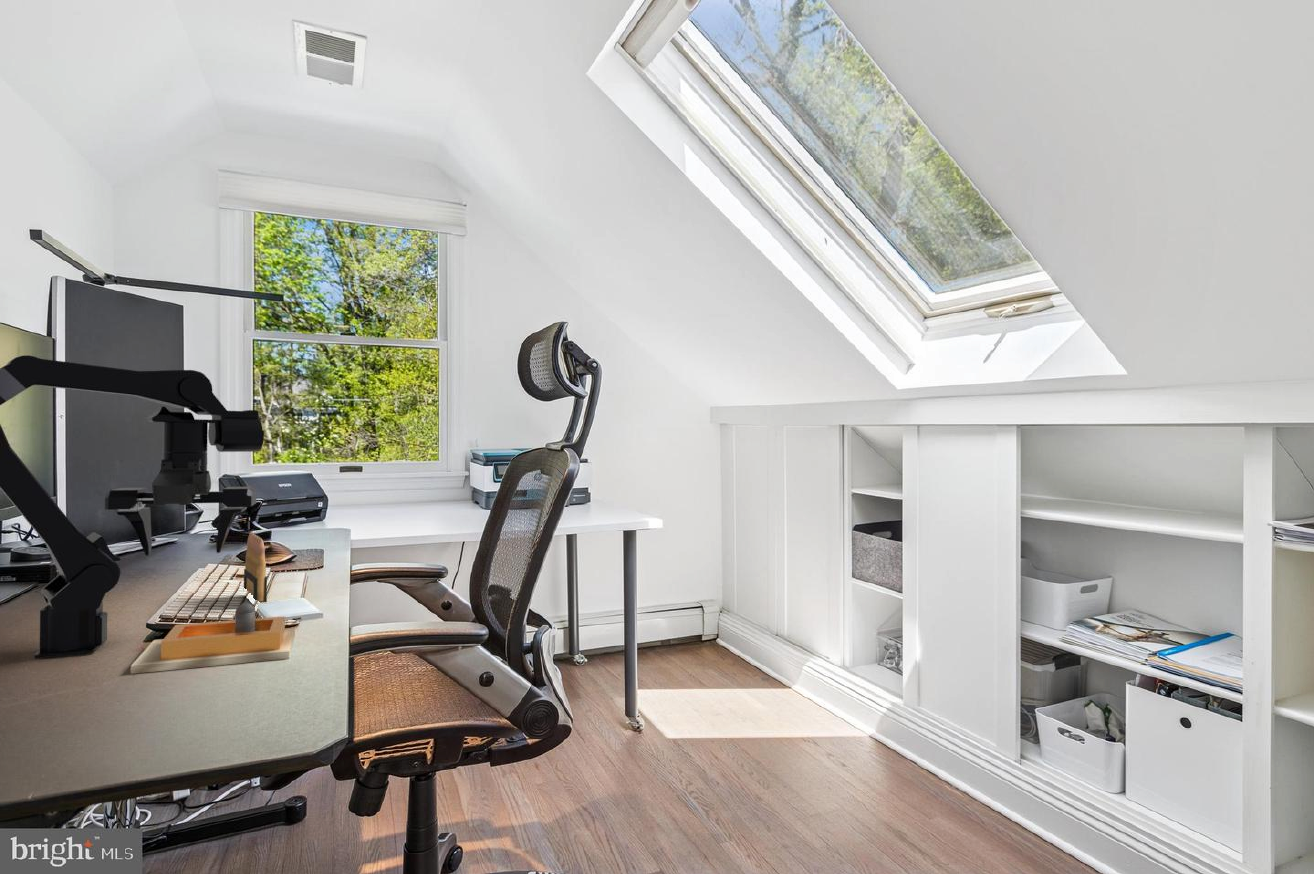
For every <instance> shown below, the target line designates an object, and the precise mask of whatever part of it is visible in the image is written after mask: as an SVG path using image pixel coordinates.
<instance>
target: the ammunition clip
mask: <svg viewBox="0 0 1314 874" xmlns="http://www.w3.org/2000/svg"><path fill="white" fill-rule="evenodd" d="M248 534H249V535H248V538H247V543H246V552H245V553H246V554H245V562H244V563H245V564H244V565H245V566H244V569H243V589H244V588H245V589H247V591H249V593H251V595H253V598H254V599H255V600H258V601H259V602H260V603H263V602H268V601H267V599H268V596H267V595H268V582H267V581H268V578H267V575H266V574H267V572H266V571H267V570H266V569H267V565H266V564H267V562H266V553H265V550H266V549H265V544H264V540H263V539H262V537H260V536H259V535H256V534H255V533H253V532H252V531H250V532H249V533H248Z"/></svg>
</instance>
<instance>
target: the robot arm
mask: <svg viewBox="0 0 1314 874" xmlns="http://www.w3.org/2000/svg"><path fill="white" fill-rule="evenodd" d="M32 386H34V387H44V388H45V387H46V388H53V389H54V388H55V389H63V390H64V389H65V390H75V391H83V392H94V393H103V394H113V395H122V396H130V397H131V396H132V397H134V398H135V397H136V398H140V399H142V400H146V401H149V402H152V403H155V404H156V403H157V404H160V405H165V406H158V408H157V409H156V410H155V411H154V412H153V413H151V414H150V415H149V416H147V417H146V421H147V422H148V423H162V459H161V464H160V469H159V472H158V474H156V475H157V476H156V477H155V478H154V480H153V481H152V483H151V486H152V487H151V489H152V491H150V492H149V491H148V488H147V487H119V488H113V489H112V490H111V489H110V490H109V491H108V492H107V493H106V494H105V498H104V510H107V511H108V510H109V511H110V510H113V511H114V510H117V511H115V513H116V516H124V517H125V519H127V521H128V522H129V523H130V524H131V526H132V528H133V529H134V531H135V533H136V536H137V538H138V540H139V543H140V544H141V547H142V551H143V552H144V554H145V556H146V557H147V556H150V555H151V553H152V547H153V544H152V543H153V541H152V540H153V539H152V522H151V521H152V520H151V519H152V518H151V517H152V515H151V507H150V506H149V507H147V506H146V505H156V506H165V505H180V506H187V505H190V504H222V505H223V508H221V509H219V523H218V528H217V536H216V549H215V550H216V554H219V553H221V551H222V550H223V547H224V544H225V542H226V539H227V537H228V534H229V532H230V529H231V527H232V525H233V524H234V521H235V519H236V518H237V516H238V514H239V513H243V512H244V511H245V510H247V508H249V507H250V508H251V507H253V506H254V505H255V504H257V490H256V488H254V486H227V487H225V488H223V489H222V491H221V490H220V491H211V489H212V480H211V474H210V471H209V470H208V443H209V445H210V446H214V447H215V449H216V450H217V452H219V453H230V452H231V453H235V452H236V453H237V452H242V453H243V452H246V453H249V452H254V453H255V452H260V450H262V447H263V445H264V439H265V430H264V429H263V424H262V421H261V419H260V416H259V415H260V413H259V412H260V411H258V410H256V409H247V410H246V409H245V410H228V409H226V407H225V406H224V404H223V403H222V402H221V401H220V400H219V399H218V398H217V396H216V395H215V394H214V392H213V385H212V382H211V380H210V379H209V378H208V377H207V376H206V374H205V373H202V372H201V371H198V370H194V369H193V370H192V369H173V370H172V369H170V370H169V369H167V370H164V369H163V370H134V369H127V368H126V369H125V368H117V367H108V366H101V365H92V364H85V363H77V362H68V361H61V360H53V359H45V358H40V357H37V356H34V355H29V354H27V355H20V356H17V357H13V358H12V359H11V360H9V361H8V362H7V364H6V365H4V366H2V367H0V406H1V405H4V404H5V403H7V402H8V401H10V400H11V399H13V398H14V397H17V396H18V395H19V394H21V393H22V392H24V391H26V390H27V389H29V388H31V387H32ZM166 406H169V407H173V408H178V409H188V410H189V411H171V410H169V409H168V408H167V407H166ZM193 413H194V414H196V415H199V416H211V419H199V418H198V419H195V416H194V414H193ZM0 490H1V491H2V492H3V494H4V495H5V497H7V499H8V500H9V501H10V502H11V503H12V505H13V506H14V507H15V508H16V509H17V511H18V512H19V513H20V514H21V516H22V517H23V518H24V519H25V520H26V522H27V523H28V524H29V525H30V526H31V527H32V529H33V530H34V531H35V533H36V534H37V535H38V536H39V537H40V539H41V540H42V541H43V542H44V544H45V546H46V548H47V550H48V552H49V555H50V557H51V559H52V562H53V563H54V565H55V568H56V569H57V571H58V573H59V574H58V575H56V576H55V577H54V578H53V579H52V580H51V581H50V582H48V583H47V584H46V585H45V586H44V587H43V588H41V589H40V592H41V593H40V594H42V596H43V598H44V599H43V600H44V601H45V603H46V604H47V605H46V606H45V607H43V608H41V609H40V610H39V650H38V651H37V652H36V653H34V655H33V658H34V659H40V658H51V657H52V658H53V657H62V656H63V657H65V656H74V655H75V656H76V655H88V654H93V653H95V652H96V651H97V650H98V649H99V648H101V646H103V645H104V643H106V642H107V640H108V612H107V611H104V607H103V606H104V605H103V603H104V602H103V600H104V598H105V595H106V594H107V593H109V592H110V591H111V590H113V589H114V588H115V587H116V585H117V584H118V582H119V580H120V577H121V573H122V572H121V568H120V567H119V565H118V563H117V562H118V561H119V562H120V561H121V560H122V559H121V558H120V556H119V557H118V555H115V553H113V552H112V551H111V549H110V548H109V546H108V544H107V541H106V540H105V538H104V537H103V536H102V535H100V534H98V533H97V532H94V531H93V532H92V533H90V534H89V535H87V537H86V536H85V535H84V534H83V533H81V532H80V531H78V529H77V528H76V527H75V526H74V524H73V523H72V522H71V521H70V520H69V518H68V517H67V516H66V514H65V513H64V512H63V510H61V508H60V507H59V506H58V505H57V503H56V502H55V501H54V499H52V497H51V495H49V492H47V491H46V489H45V488H44V487H43V485H42V484H41V483H40V482H39V481H38V480H37V478H36V476H35V475H34V474H33V473H32V472H31V470H29V468H28V467H27V465H26V464H25V463H24V462H23V460H22V459H21V458H20V457H19V456H18V454H17V453H16V452H15V450H14V449H13V448H12V447H11V444H10V443H9V441H8V439H7V436H6V434H5V432H4V429H3V426H2V424H1V423H0Z"/></svg>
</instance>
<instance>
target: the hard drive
mask: <svg viewBox="0 0 1314 874" xmlns="http://www.w3.org/2000/svg"><path fill="white" fill-rule="evenodd" d="M257 605H258V606H257V607H258V611H259V614H260V616H262V617H263V618H271V617H284V616H285V621H288V620H297V622H303V621H310V620H317V619H324V613H323V612H322V611H321V610H320V609H318V607H316V606H315V605H314V604H312V603H311V602H310V601H308V600H307V599H306V598H304V597H297V598H289V599H279V600H273V601H267V602H263V603H257ZM260 616H259V617H260Z"/></svg>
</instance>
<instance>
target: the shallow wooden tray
mask: <svg viewBox="0 0 1314 874" xmlns="http://www.w3.org/2000/svg"><path fill="white" fill-rule="evenodd" d="M285 629H286V623H285V616H284V617H271V618H261V617H258V618H255V632H243V633H235V619H233V620H221V621H220V620H219V621H207V622H194V623H193V622H192V623H181V624H175V625H174V626H173V628H171V630H170V631H169V632H168V633H167V635H165V637H164V638H163V640H162V642H161V660H170V659H180V658H191V657H202V656H213V655H224V654H234V653H245V652H256V651H267V650H278V649H280V647H281V643H282V640H283V636H284V633H285Z"/></svg>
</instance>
